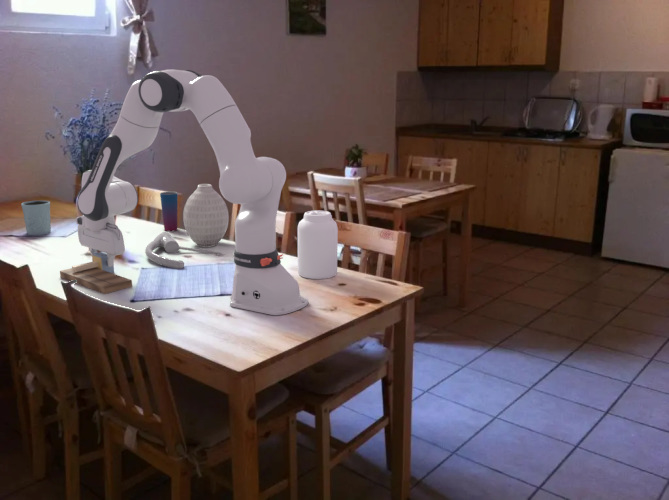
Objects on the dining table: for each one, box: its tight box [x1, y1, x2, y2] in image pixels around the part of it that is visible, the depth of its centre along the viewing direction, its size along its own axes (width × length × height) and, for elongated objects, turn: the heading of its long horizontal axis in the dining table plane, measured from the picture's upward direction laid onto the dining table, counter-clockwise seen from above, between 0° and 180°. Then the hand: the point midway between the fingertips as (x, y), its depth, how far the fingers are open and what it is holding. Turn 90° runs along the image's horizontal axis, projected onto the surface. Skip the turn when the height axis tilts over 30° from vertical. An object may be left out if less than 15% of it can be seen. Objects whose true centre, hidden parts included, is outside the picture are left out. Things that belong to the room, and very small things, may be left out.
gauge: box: [71, 251, 115, 274], centre depth 199 cm, size 5×12×6 cm, turn 141°
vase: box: [182, 183, 229, 248], centre depth 234 cm, size 16×16×22 cm
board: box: [59, 267, 133, 295], centre depth 193 cm, size 24×9×2 cm, turn 51°
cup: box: [159, 191, 179, 232], centre depth 257 cm, size 7×7×15 cm
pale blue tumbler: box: [20, 200, 52, 236], centre depth 250 cm, size 10×10×12 cm
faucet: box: [144, 231, 225, 270], centre depth 221 cm, size 5×28×28 cm
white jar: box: [297, 209, 339, 280], centre depth 201 cm, size 12×12×20 cm
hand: (103, 263), depth 202 cm, fingers open, 6 cm apart
